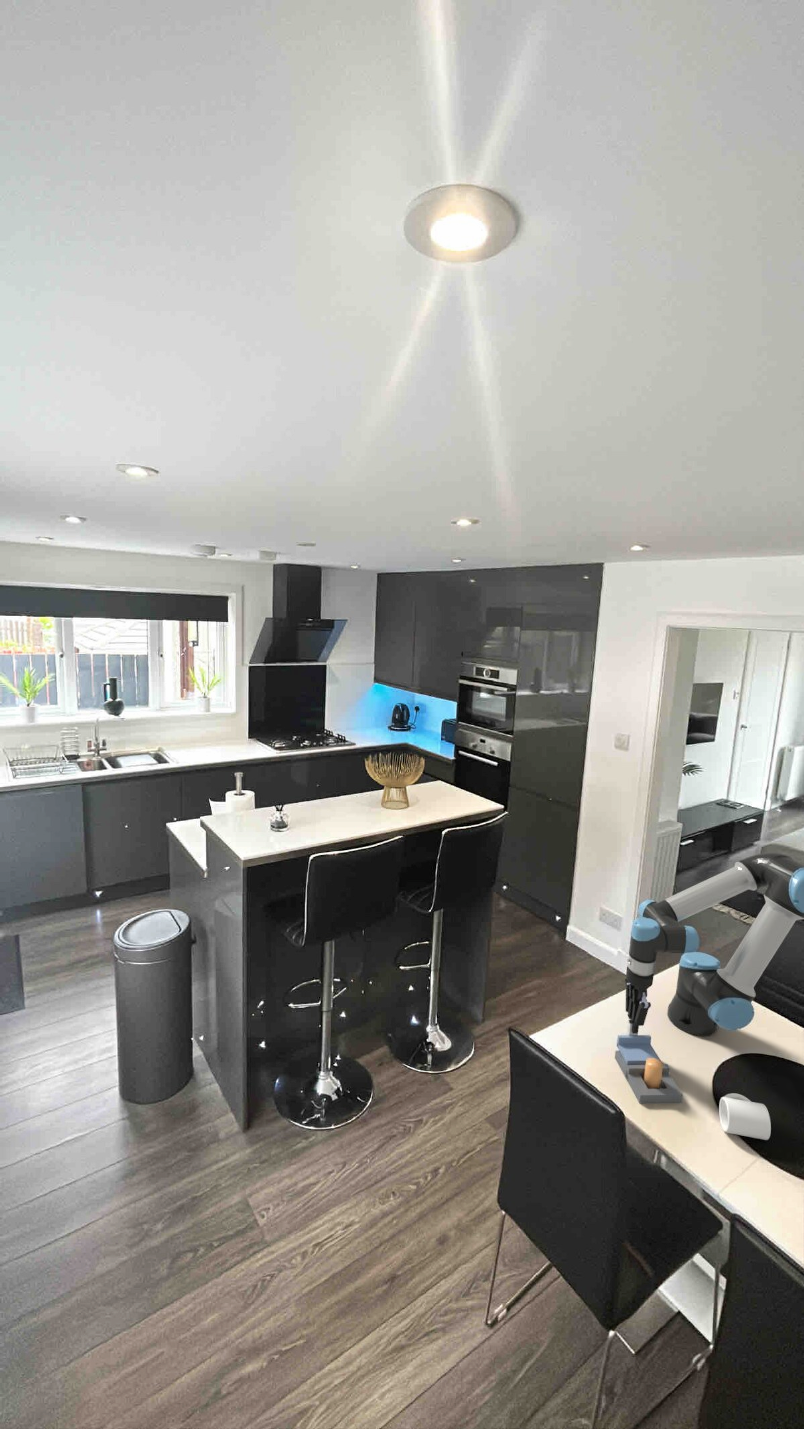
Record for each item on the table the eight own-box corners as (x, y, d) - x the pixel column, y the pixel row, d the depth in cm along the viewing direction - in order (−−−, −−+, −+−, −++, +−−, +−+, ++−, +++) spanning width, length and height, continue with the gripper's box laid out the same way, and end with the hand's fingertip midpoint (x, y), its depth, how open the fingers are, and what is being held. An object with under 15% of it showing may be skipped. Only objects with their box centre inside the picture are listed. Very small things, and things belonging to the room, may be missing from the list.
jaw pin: (662, 1094, 174) (665, 1069, 172) (647, 1094, 173) (650, 1069, 172) (655, 1082, 178) (658, 1057, 177) (640, 1082, 178) (643, 1057, 176)
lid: (648, 1045, 189) (649, 1035, 188) (660, 1063, 181) (661, 1053, 181) (616, 1045, 188) (617, 1035, 188) (627, 1064, 181) (628, 1053, 180)
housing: (653, 1057, 188) (654, 1045, 187) (681, 1102, 171) (683, 1089, 170) (614, 1057, 187) (616, 1045, 186) (639, 1103, 170) (641, 1089, 169)
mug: (768, 1148, 158) (773, 1121, 156) (726, 1139, 160) (730, 1113, 158) (752, 1110, 169) (756, 1085, 168) (713, 1103, 171) (716, 1078, 170)
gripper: (619, 956, 191) (611, 1024, 195) (637, 982, 178) (628, 1054, 182) (643, 957, 191) (634, 1025, 196) (662, 982, 178) (653, 1055, 183)
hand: (631, 1039), depth 189 cm, fingers closed
